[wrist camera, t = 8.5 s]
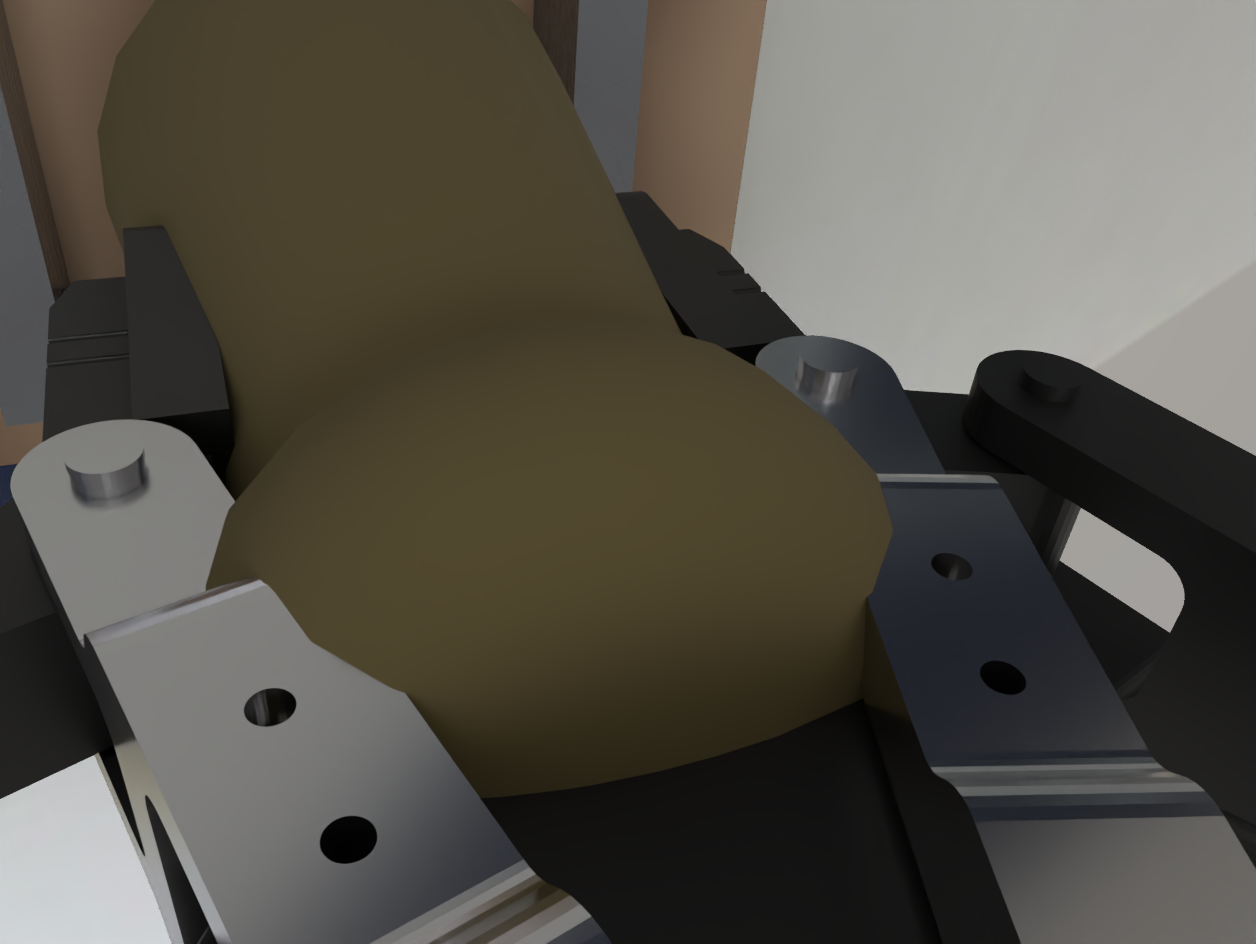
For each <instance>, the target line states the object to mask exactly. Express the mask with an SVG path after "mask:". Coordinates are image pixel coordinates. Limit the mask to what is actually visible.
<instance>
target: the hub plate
mask: <svg viewBox="0 0 1256 944" xmlns="http://www.w3.org/2000/svg"><path fill="white" fill-rule="evenodd" d="M2 1H3V5H4V9H5V13H6V17H7V22H8V26H9V30H10V34H11V38H12V43H13V47H14V51H15V55H16V59H17V64H18V68H19V72H20V76H21V80H22V85H23V89H24V93H25V97H26V101H27V106H28V110H29V114H30V118H31V122H32V127H33V131H34V135H35V139H36V143H37V148H38V152H39V156H40V160H41V164H42V169H43V173H44V177H45V181H46V185H47V190H48V194H49V198H50V202H51V206H52V211H53V215H54V219H55V223H56V227H57V232H58V236H59V240H60V244H61V248H62V252H63V257H64V261H65V265H66V269H67V273H68V278H69V282H70V285H71V284H72V283H73V281H79V280H91V279H102V278H114V277H125V262H124V253H123V251H122V248H121V245H120V243H119V240H118V237H117V235H116V232H115V229H114V227H113V224H112V221H111V218H110V216H109V213H108V210H107V208H106V203H105V194H104V186H103V177H102V168H101V159H100V151H99V142H98V133H97V130H98V126H99V122H100V118H101V115H102V111H103V107H104V103H105V99H106V95H107V91H108V87H109V83H110V79H111V75H112V71H113V67H114V63H115V59H116V55H117V54H118V53H119V51H120V50H121V48H122V47H123V46H124V44H125V43H126V41H127V40H128V38H129V37H130V36H131V34H132V33H133V31H134V30H135V29H136V27H137V26H138V24H139V23H140V21H141V20H142V19H143V17H144V16H145V14H146V13H147V12H148V10H149V9H150V7H151V6H152V5H153V3H154V2H155V0H2ZM511 1H512V2H513V3H514V4H515V5H516V6H517V7H518V8H520V9H521V10H522V11H523V12H524V13H525V15H526V16H527V18H528V20H529V22H530V24H531V25H532V27H533V11H534V0H511ZM766 3H767V0H648V10H647V22H646V34H645V45H644V57H643V69H642V81H641V92H640V104H639V116H638V127H637V139H636V151H635V162H634V174H633V186H632V192H634V191H644V192H646V193H647V194H648V195H649V196H650V197H651V199H652V200H653V201H654V202H655V203H656V204H657V205H658V206H659V208H660V209H661V210H662V211H663V212H664V213H665V214H666V216H667V217H668V218H669V219H670V220H671V221H672V222H673V224H674V225H675V226H676V227H677V228H678V229H679V230H682V229H691V230H693V231H695V232H696V233H698V234H700V235H702V236H704V237H706V238H708V239H710V240H712V241H713V242H715V243H717V244H719V245H721V246H723V247H724V248H725V249H726V250H727V251H728V252H729V253H730V251H731V244H732V237H733V231H734V224H735V217H736V210H737V203H738V196H739V189H740V182H741V175H742V168H743V162H744V155H745V148H746V141H747V134H748V127H749V120H750V113H751V106H752V99H753V93H754V86H755V79H756V72H757V65H758V58H759V51H760V44H761V37H762V30H763V24H764V17H765V10H766ZM42 438H43V422H39V423H31V424H23V425H15V426H6V425H5V421H4V418H3V415H2V411H1V408H0V466H3V465H10V464H18V463H19V462H20V461H21V459H22V458H23V457H24V456H25V455H26V454H27V453H28V452H29V451H31V450H32V449H33V448H35V447H36V446H38V445H39V444H40V443H42Z"/></svg>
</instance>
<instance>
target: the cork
mask: <svg viewBox="0 0 1256 944" xmlns="http://www.w3.org/2000/svg"><path fill="white" fill-rule="evenodd" d="M97 133H98V142H99V151H100V159H101V168H102V177H103V186H104V194H105V203H106V208H107V210H108V213H109V216H110V218H111V221H112V224H113V227H114V229H115V232H116V235H117V237H118V240H119V243H120V245H121V248H122V251H123V253H124V242H123V228H132V227H146V226H160V225H162V226H164V227H165V229H166V230H167V233H168V235H169V237H170V239H171V241H172V243H173V245H174V248H175V250H176V252H177V254H178V256H179V258H180V260H181V262H182V265H183V267H184V269H185V271H186V273H187V275H188V277H189V280H190V282H191V284H192V286H193V288H194V290H195V292H196V295H197V297H198V299H199V301H200V303H201V305H202V307H203V310H204V312H205V314H206V316H207V318H208V320H209V322H210V325H211V327H212V329H213V331H214V333H215V335H216V337H217V340H218V344H219V350H220V356H221V362H222V369H223V375H224V381H225V387H226V393H227V399H228V405H229V411H230V418H231V424H232V431H233V437H234V444H235V446H234V449H233V451H232V454H231V457H230V460H229V463H228V466H227V468H226V471H225V474H226V489H227V491H228V492H229V494H230V495H231V496H232V498H233V499H234V501H235V503H234V504H233V505H232V506H231V507H230V509H229V510H228V513H227V516H226V519H225V521H224V525H223V528H222V532H221V535H220V539H219V542H218V545H217V549H216V552H215V556H214V559H213V562H212V566H211V569H210V573H209V576H208V579H207V583H206V586H205V587H206V591H208V590H211V589H214V588H216V587H219V586H222V585H225V584H228V583H231V582H233V581H236V580H239V579H242V578H245V577H248V576H255V577H257V578H259V579H261V581H262V582H263V583H265V584H267V585H268V586H269V587H270V588H271V589H272V590H273V591H274V592H275V593H276V595H277V596H278V597H279V599H280V600H281V602H282V603H283V604H284V606H285V607H286V608H287V610H288V611H289V613H290V614H291V615H292V617H293V618H294V619H295V621H296V622H297V623H298V625H299V626H300V628H301V629H302V630H303V632H304V633H305V634H306V636H307V637H308V639H309V640H310V641H311V642H313V643H315V644H316V645H318V646H320V647H321V648H323V649H325V650H327V651H328V652H330V653H332V654H333V655H335V656H337V657H338V658H340V659H342V660H344V661H345V662H347V663H349V664H350V665H352V666H354V667H356V668H357V669H359V670H361V671H362V672H364V673H366V674H368V675H369V676H371V677H373V678H374V679H376V680H378V681H380V682H381V683H383V684H385V685H386V686H388V687H390V688H392V689H395V690H398V691H404V692H405V694H406V695H407V696H408V698H409V699H410V701H411V702H412V703H413V705H414V706H415V708H416V709H417V710H418V712H419V713H420V715H421V716H422V717H423V719H424V720H425V722H426V723H427V724H428V726H429V727H430V729H431V730H432V731H433V733H434V734H435V736H436V737H437V738H438V740H439V741H440V743H441V744H442V745H443V747H444V748H445V750H446V751H447V752H448V754H449V755H450V757H451V758H452V759H453V761H454V762H455V764H456V765H457V766H458V768H459V769H460V771H461V772H462V774H463V775H464V776H465V778H466V779H467V781H468V782H469V783H470V785H471V786H472V788H473V789H474V790H475V792H476V793H477V795H478V796H479V797H480V798H491V797H506V796H515V795H523V794H531V793H540V792H548V791H557V790H565V789H571V788H577V787H584V786H590V785H596V784H601V783H606V782H610V781H615V780H620V779H625V778H630V777H635V776H639V775H644V774H649V773H654V772H659V771H662V770H666V769H670V768H674V767H677V766H681V765H685V764H689V763H693V762H696V761H700V760H704V759H708V758H712V757H715V756H718V755H722V754H725V753H728V752H731V751H734V750H737V749H740V748H743V747H746V746H749V745H752V744H756V743H759V742H762V741H765V740H768V739H771V738H774V737H777V736H779V735H782V734H784V733H786V732H788V731H791V730H793V729H795V728H797V727H800V726H802V725H804V724H806V723H808V722H811V721H813V720H815V719H817V718H820V717H822V716H824V715H826V714H829V713H831V712H833V711H836V710H838V709H840V708H842V707H845V706H847V705H849V704H852V703H854V702H856V701H859V700H861V699H863V696H862V693H861V690H860V687H859V685H860V679H861V673H862V667H863V660H864V640H865V619H866V599H867V596H868V595H869V594H871V593H872V592H873V589H874V586H875V583H876V580H877V577H878V574H879V571H880V568H881V565H882V562H883V559H884V557H885V554H886V551H887V548H888V545H889V542H890V539H891V536H892V533H893V527H892V524H891V520H890V517H889V513H888V510H887V507H886V503H885V500H884V496H883V493H882V489H881V485H880V482H879V479H878V477H877V475H876V473H875V472H874V471H873V470H872V468H871V467H870V466H869V465H868V464H867V463H866V462H865V461H864V460H863V458H862V457H861V456H860V455H859V454H858V453H857V452H856V451H855V449H854V448H853V447H852V446H851V445H850V444H849V443H848V442H847V441H846V439H845V438H844V437H843V436H842V435H841V434H840V433H839V432H838V431H837V429H836V428H835V427H834V426H833V425H832V424H831V423H829V422H828V421H827V420H826V419H824V418H823V417H822V416H821V415H819V414H818V413H817V412H815V411H814V410H813V409H812V408H810V407H809V406H808V405H807V404H805V403H804V402H803V401H802V400H800V399H799V398H798V397H796V396H795V395H794V394H793V393H791V392H790V391H789V390H788V389H786V388H785V387H784V386H783V385H781V384H780V383H779V382H778V381H776V380H775V379H774V378H772V377H771V376H770V375H769V374H767V373H766V372H765V371H763V370H761V369H759V368H757V367H756V366H754V365H752V364H750V363H748V362H747V361H745V360H743V359H741V358H740V357H738V356H736V355H734V354H732V353H731V352H729V351H727V350H725V349H723V348H722V347H720V346H718V345H716V344H713V343H710V342H706V341H703V340H699V339H696V338H692V337H689V336H685V335H683V334H682V332H681V330H680V328H679V326H678V324H677V322H676V320H675V318H674V316H673V314H672V312H671V310H670V308H669V306H668V304H667V302H666V300H665V298H664V296H663V294H662V292H661V290H660V288H659V286H658V284H657V282H656V279H655V277H654V275H653V273H652V271H651V269H650V267H649V265H648V262H647V260H646V258H645V256H644V254H643V252H642V250H641V248H640V245H639V243H638V241H637V239H636V237H635V235H634V233H633V231H632V228H631V226H630V224H629V222H628V220H627V218H626V216H625V214H624V211H623V209H622V207H621V205H620V203H619V201H618V199H617V197H616V194H615V191H614V189H613V187H612V185H611V183H610V181H609V179H608V176H607V174H606V172H605V170H604V168H603V166H602V164H601V162H600V160H599V158H598V156H597V154H596V151H595V149H594V147H593V145H592V143H591V141H590V139H589V137H588V135H587V133H586V131H585V129H584V126H583V124H582V122H581V120H580V118H579V116H578V114H577V112H576V110H575V108H574V106H573V104H572V101H571V99H570V97H569V95H568V93H567V91H566V89H565V87H564V85H563V83H562V81H561V79H560V76H559V75H558V73H557V71H556V69H555V67H554V65H553V64H552V62H551V60H550V58H549V56H548V55H547V53H546V51H545V49H544V47H543V45H542V44H541V42H540V40H539V38H538V36H537V35H536V33H535V31H534V29H533V27H532V25H531V24H530V22H529V20H528V18H527V16H526V15H525V13H524V12H523V11H522V10H521V9H520V8H518V7H517V6H516V5H515V4H514V3H513V2H512V1H511V0H155V2H154V3H153V5H152V6H151V7H150V9H149V10H148V12H147V13H146V14H145V16H144V17H143V19H142V20H141V21H140V23H139V24H138V26H137V27H136V29H135V30H134V31H133V33H132V34H131V36H130V37H129V38H128V40H127V41H126V43H125V44H124V46H123V47H122V48H121V50H120V51H119V53H118V54H117V55H116V59H115V63H114V67H113V71H112V75H111V79H110V83H109V87H108V91H107V95H106V99H105V103H104V107H103V111H102V115H101V118H100V122H99V126H98V130H97Z"/></svg>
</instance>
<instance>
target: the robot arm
mask: <svg viewBox="0 0 1256 944" xmlns="http://www.w3.org/2000/svg"><path fill="white" fill-rule="evenodd" d="M615 194H616V197H617V199H618V201H619V203H620V205H621V207H622V209H623V211H624V214H625V216H626V218H627V220H628V222H629V224H630V226H631V228H632V231H633V233H634V235H635V237H636V239H637V241H638V243H639V245H640V248H641V250H642V252H643V254H644V256H645V258H646V260H647V262H648V265H649V267H650V269H651V271H652V273H653V275H654V277H655V279H656V282H657V284H658V286H659V288H660V290H661V292H662V294H663V296H664V298H665V300H666V302H667V304H668V306H669V308H670V310H671V312H672V314H673V316H674V318H675V320H676V322H677V324H678V326H679V328H680V330H681V332H682V334H683V335H685V336H689V337H692V338H696V339H699V340H703V341H706V342H710V343H713V344H716V345H718V346H720V347H722V348H723V349H725V350H727V351H729V352H731V353H732V354H734V355H736V356H738V357H740V358H741V359H743V360H745V361H747V362H748V363H750V364H752V365H754V366H756V367H757V368H759V369H761V370H763V371H765V372H766V373H767V374H769V375H770V376H771V377H772V378H774V379H775V380H776V381H778V382H779V383H780V384H781V385H783V386H784V387H785V388H786V389H788V390H789V391H790V392H791V393H793V394H794V395H795V396H796V397H798V398H799V399H800V400H802V401H803V402H804V403H805V404H807V405H808V406H809V407H810V408H812V409H813V410H814V411H815V412H817V413H818V414H819V415H821V416H822V417H823V418H824V419H826V420H827V421H828V422H829V423H831V424H832V425H833V426H834V427H835V428H836V429H837V431H838V432H839V433H840V434H841V435H842V436H843V437H844V438H845V439H846V441H847V442H848V443H849V444H850V445H851V446H852V447H853V448H854V449H855V451H856V452H857V453H858V454H859V455H860V456H861V457H862V458H863V460H864V461H865V462H866V463H867V464H868V465H869V466H870V467H871V468H872V470H873V471H874V472H875V473H876V475H877V477H878V479H879V482H880V485H881V489H882V493H883V496H884V500H885V503H886V507H887V510H888V513H889V517H890V520H891V524H892V527H893V533H892V536H891V539H890V542H889V545H888V548H887V551H886V554H885V557H884V559H883V562H882V565H881V568H880V571H879V574H878V577H877V580H876V583H875V586H874V589H873V592H872V593H871V594H869V595H868V596H867V599H866V619H865V640H864V660H863V667H862V673H861V679H860V685H859V687H860V690H861V693H862V696H863V699H861V700H859V701H856V702H854V703H852V704H849V705H847V706H845V707H842V708H840V709H838V710H836V711H833V712H831V713H829V714H826V715H824V716H822V717H820V718H817V719H815V720H813V721H811V722H808V723H806V724H804V725H802V726H800V727H797V728H795V729H793V730H791V731H788V732H786V733H784V734H782V735H779V736H777V737H774V738H771V739H768V740H765V741H762V742H759V743H756V744H752V745H749V746H746V747H743V748H740V749H737V750H734V751H731V752H728V753H725V754H722V755H718V756H715V757H712V758H708V759H704V760H700V761H696V762H693V763H689V764H685V765H681V766H677V767H674V768H670V769H666V770H662V771H659V772H654V773H649V774H644V775H639V776H635V777H630V778H625V779H620V780H615V781H610V782H606V783H601V784H596V785H590V786H584V787H577V788H571V789H565V790H557V791H548V792H540V793H531V794H523V795H515V796H506V797H491V798H480V797H479V796H478V795H477V793H476V792H475V790H474V789H473V788H472V786H471V785H470V783H469V782H468V781H467V779H466V778H465V776H464V775H463V774H462V772H461V771H460V769H459V768H458V766H457V765H456V764H455V762H454V761H453V759H452V758H451V757H450V755H449V754H448V752H447V751H446V750H445V748H444V747H443V745H442V744H441V743H440V741H439V740H438V738H437V737H436V736H435V734H434V733H433V731H432V730H431V729H430V727H429V726H428V724H427V723H426V722H425V720H424V719H423V717H422V716H421V715H420V713H419V712H418V710H417V709H416V708H415V706H414V705H413V703H412V702H411V701H410V699H409V698H408V696H407V695H406V694H405V692H404V691H398V690H395V689H392V688H390V687H388V686H386V685H385V684H383V683H381V682H380V681H378V680H376V679H374V678H373V677H371V676H369V675H368V674H366V673H364V672H362V671H361V670H359V669H357V668H356V667H354V666H352V665H350V664H349V663H347V662H345V661H344V660H342V659H340V658H338V657H337V656H335V655H333V654H332V653H330V652H328V651H327V650H325V649H323V648H321V647H320V646H318V645H316V644H315V643H313V642H311V641H310V640H309V639H308V637H307V636H306V634H305V633H304V632H303V630H302V629H301V628H300V626H299V625H298V623H297V622H296V621H295V619H294V618H293V617H292V615H291V614H290V613H289V611H288V610H287V608H286V607H285V606H284V604H283V603H282V602H281V600H280V599H279V597H278V596H277V595H276V593H275V592H274V591H273V590H272V589H271V588H270V587H269V586H268V585H267V584H265V583H263V582H262V581H261V579H259V578H257V577H255V576H248V577H245V578H242V579H239V580H236V581H233V582H231V583H228V584H225V585H222V586H219V587H216V588H214V589H211V590H208V591H206V587H205V586H206V583H207V579H208V576H209V573H210V569H211V566H212V562H213V559H214V556H215V552H216V549H217V545H218V542H219V539H220V535H221V532H222V528H223V525H224V521H225V519H226V516H227V513H228V510H229V509H230V507H231V506H232V505H233V504H234V503H235V501H234V499H233V498H232V496H231V495H230V494H229V492H228V491H227V489H226V474H225V471H226V468H227V466H228V463H229V460H230V457H231V454H232V451H233V449H234V446H235V444H234V437H233V431H232V424H231V418H230V411H229V405H228V399H227V393H226V387H225V381H224V375H223V369H222V362H221V356H220V350H219V344H218V340H217V337H216V335H215V333H214V331H213V329H212V327H211V325H210V322H209V320H208V318H207V316H206V314H205V312H204V310H203V307H202V305H201V303H200V301H199V299H198V297H197V295H196V292H195V290H194V288H193V286H192V284H191V282H190V280H189V277H188V275H187V273H186V271H185V269H184V267H183V265H182V262H181V260H180V258H179V256H178V254H177V252H176V250H175V248H174V245H173V243H172V241H171V239H170V237H169V235H168V233H167V230H166V229H165V227H164V226H162V225H160V226H146V227H132V228H123V242H124V262H125V277H114V278H102V279H91V280H79V281H73V283H72V284H71V285H70V286H69V287H68V288H67V289H66V290H65V292H64V293H63V294H62V295H61V296H60V297H59V298H58V299H57V300H56V302H55V303H54V304H53V305H52V306H51V307H50V308H49V324H48V341H49V344H47V367H48V368H46V381H45V400H44V419H43V438H42V443H40V444H39V445H38V446H36V447H35V448H33V449H32V450H31V451H29V452H28V453H27V454H26V455H25V456H24V457H23V458H22V459H21V461H20V462H19V463H18V465H17V466H16V468H15V470H14V472H13V475H12V477H11V487H10V488H11V491H12V495H13V499H12V500H11V501H9V502H8V503H7V504H5V505H4V506H2V507H0V799H1V798H3V797H5V796H7V795H10V794H12V793H14V792H16V791H18V790H20V789H22V788H25V787H27V786H29V785H31V784H33V783H35V782H37V781H39V780H42V779H44V778H46V777H48V776H50V775H52V774H54V773H57V772H59V771H61V770H63V769H65V768H67V767H69V766H72V765H74V764H76V763H78V762H80V761H82V760H84V759H87V758H89V757H91V756H93V755H95V758H96V760H97V762H98V765H99V767H100V769H101V772H102V774H103V776H104V779H105V781H106V783H107V786H108V788H109V790H110V792H111V795H112V797H113V799H114V802H115V804H116V806H117V809H118V811H119V813H120V816H121V818H122V820H123V823H124V825H125V827H126V830H127V832H128V834H129V837H130V839H131V841H132V844H133V846H134V848H135V851H136V853H137V855H138V858H139V860H140V862H141V865H142V867H143V869H144V872H145V874H146V876H147V879H148V881H149V884H150V886H151V888H152V891H153V893H154V896H155V898H156V901H157V904H158V906H159V909H160V912H161V914H162V917H163V920H164V923H165V926H166V929H167V932H168V934H169V937H170V940H171V943H172V944H1256V456H1255V455H1253V454H1251V453H1249V452H1247V451H1245V450H1243V449H1241V448H1240V447H1237V446H1236V445H1234V444H1232V443H1230V442H1228V441H1226V440H1224V439H1223V438H1221V437H1219V436H1217V435H1215V434H1213V433H1211V432H1209V431H1207V430H1205V429H1204V428H1202V427H1200V426H1198V425H1196V424H1194V423H1192V422H1190V421H1188V420H1186V419H1185V418H1183V417H1181V416H1179V415H1177V414H1175V413H1173V412H1171V411H1169V410H1168V409H1166V408H1164V407H1162V406H1160V405H1158V404H1156V403H1154V402H1152V401H1150V400H1149V399H1146V398H1145V397H1143V396H1141V395H1139V394H1137V393H1135V392H1133V391H1132V390H1130V389H1128V388H1126V387H1124V386H1122V385H1120V384H1118V383H1116V382H1115V381H1113V380H1111V379H1109V378H1107V377H1105V376H1103V375H1101V374H1099V373H1097V372H1096V371H1094V370H1092V369H1090V368H1088V367H1086V366H1084V365H1082V364H1080V363H1077V362H1075V361H1072V360H1070V359H1067V358H1064V357H1060V356H1057V355H1054V354H1049V353H1044V352H1037V351H1029V350H1012V351H1004V352H998V353H995V354H993V355H990V356H988V357H987V358H985V359H984V360H983V361H982V362H981V363H980V364H979V366H978V368H977V370H976V374H975V377H974V380H973V383H972V387H971V390H970V393H969V395H968V394H953V393H938V392H923V391H910V390H903V388H902V386H901V384H900V382H899V380H898V378H897V376H896V374H895V372H894V371H893V369H892V368H891V366H890V365H889V364H888V363H887V362H886V361H885V360H883V359H882V358H881V357H879V356H878V355H877V354H875V353H873V352H871V351H870V350H868V349H866V348H863V347H861V346H859V345H856V344H853V343H850V342H847V341H844V340H840V339H836V338H830V337H823V336H805V335H804V334H803V332H802V331H801V330H800V329H799V328H798V327H797V326H796V325H795V324H794V323H793V322H792V320H791V319H790V318H789V317H788V316H787V315H786V314H785V313H784V312H783V311H782V310H781V309H780V307H779V306H778V305H777V304H776V303H775V302H774V301H773V300H772V299H771V298H770V297H769V296H768V294H767V293H766V292H761V287H760V286H759V285H758V284H757V282H756V281H755V280H754V279H753V278H752V277H751V276H750V275H749V274H745V273H744V268H743V267H742V266H741V265H740V264H739V263H738V262H737V261H736V260H735V259H734V258H733V256H732V255H731V254H730V253H729V252H728V251H727V250H726V249H725V248H724V247H723V246H721V245H719V244H717V243H715V242H713V241H712V240H710V239H708V238H706V237H704V236H702V235H700V234H698V233H696V232H695V231H693V230H691V229H682V230H679V229H678V228H677V227H676V226H675V225H674V224H673V222H672V221H671V220H670V219H669V218H668V217H667V216H666V214H665V213H664V212H663V211H662V210H661V209H660V208H659V206H658V205H657V204H656V203H655V202H654V201H653V200H652V199H651V197H650V196H649V195H648V194H647V193H646V192H644V191H634V192H621V193H615ZM1080 508H1082V509H1084V510H1086V511H1087V512H1089V513H1091V514H1092V515H1094V516H1095V517H1098V518H1099V519H1101V520H1102V521H1104V522H1105V523H1107V524H1109V525H1110V526H1112V527H1113V528H1115V529H1117V530H1118V531H1120V532H1122V533H1123V534H1125V535H1126V536H1128V537H1130V538H1131V539H1133V540H1135V541H1136V542H1138V543H1139V544H1141V545H1143V546H1144V547H1146V548H1148V549H1149V550H1151V551H1152V552H1154V553H1156V554H1157V555H1159V556H1160V557H1162V558H1163V559H1165V560H1166V561H1167V562H1168V563H1169V564H1170V565H1171V566H1172V567H1173V568H1174V570H1175V571H1176V572H1177V574H1178V576H1179V577H1180V579H1181V582H1182V584H1183V588H1184V593H1185V600H1184V606H1183V608H1182V611H1181V613H1180V615H1179V617H1178V618H1177V621H1176V622H1175V624H1174V626H1173V628H1172V630H1171V632H1170V633H1169V632H1168V631H1166V630H1164V629H1163V628H1161V627H1160V626H1158V625H1157V624H1155V623H1154V622H1152V621H1151V620H1149V619H1148V618H1146V617H1145V616H1143V615H1142V614H1140V613H1139V612H1137V611H1136V610H1134V609H1132V608H1131V607H1129V606H1128V605H1126V604H1125V603H1123V602H1122V601H1120V600H1119V599H1117V598H1116V597H1114V596H1113V595H1111V594H1110V593H1108V592H1107V591H1105V590H1103V589H1102V588H1100V587H1099V586H1097V585H1096V584H1094V583H1093V582H1091V581H1090V580H1088V579H1087V578H1085V577H1084V576H1082V575H1081V574H1079V573H1078V572H1076V571H1074V570H1073V569H1071V568H1070V567H1068V566H1067V565H1065V564H1064V563H1062V562H1061V561H1059V560H1060V557H1061V555H1062V553H1063V550H1064V548H1065V545H1066V543H1067V540H1068V538H1069V535H1070V533H1071V531H1072V528H1073V525H1074V523H1075V521H1076V518H1077V516H1078V513H1079V511H1080Z"/></svg>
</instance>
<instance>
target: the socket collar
mask: <svg viewBox="0 0 1256 944" xmlns="http://www.w3.org/2000/svg"><path fill="white" fill-rule="evenodd" d="M647 10H648V0H534V11H533V29H534V31H535V33H536V35H537V36H538V38H539V40H540V42H541V44H542V45H543V47H544V49H545V51H546V53H547V55H548V56H549V58H550V60H551V62H552V64H553V65H554V67H555V69H556V71H557V73H558V75H559V76H560V79H561V81H562V83H563V85H564V87H565V89H566V91H567V93H568V95H569V97H570V99H571V101H572V104H573V106H574V108H575V110H576V112H577V114H578V116H579V118H580V120H581V122H582V124H583V126H584V129H585V131H586V133H587V135H588V137H589V139H590V141H591V143H592V145H593V147H594V149H595V151H596V154H597V156H598V158H599V160H600V162H601V164H602V166H603V168H604V170H605V172H606V174H607V176H608V179H609V181H610V183H611V185H612V187H613V189H614V191H615V193H621V192H632V186H633V174H634V162H635V151H636V139H637V127H638V116H639V104H640V92H641V81H642V69H643V57H644V45H645V34H646V22H647ZM69 286H70V282H69V278H68V273H67V269H66V265H65V261H64V257H63V252H62V248H61V244H60V240H59V236H58V232H57V227H56V223H55V219H54V215H53V211H52V206H51V202H50V198H49V194H48V190H47V185H46V181H45V177H44V173H43V169H42V164H41V160H40V156H39V152H38V148H37V143H36V139H35V135H34V131H33V127H32V122H31V118H30V114H29V110H28V106H27V101H26V97H25V93H24V89H23V85H22V80H21V76H20V72H19V68H18V64H17V59H16V55H15V51H14V47H13V43H12V38H11V34H10V30H9V26H8V22H7V17H6V13H5V9H4V5H3V1H2V0H0V408H1V411H2V415H3V418H4V421H5V425H6V426H15V425H23V424H31V423H39V422H43V419H44V400H45V381H46V368H48V367H47V344H49V341H48V324H49V308H50V307H51V306H52V305H53V304H54V303H55V302H56V300H57V299H58V298H59V297H60V296H61V295H62V294H63V293H64V292H65V290H66V289H67V288H68V287H69Z"/></svg>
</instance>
